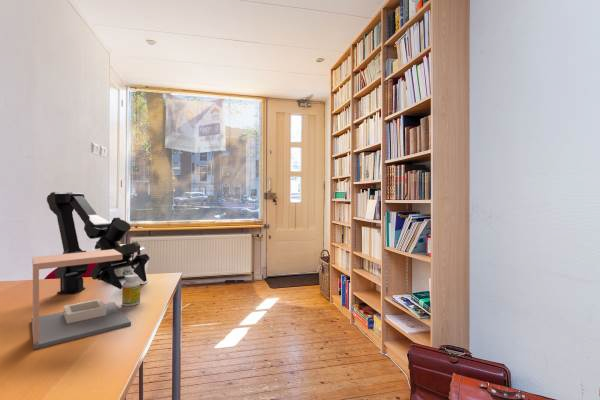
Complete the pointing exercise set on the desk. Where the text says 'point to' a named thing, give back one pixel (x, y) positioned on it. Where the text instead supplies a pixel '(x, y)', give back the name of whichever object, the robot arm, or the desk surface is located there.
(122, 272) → the ink bottle
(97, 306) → the awning socket
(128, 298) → the supplement bottle
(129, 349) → the desk surface
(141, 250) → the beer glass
